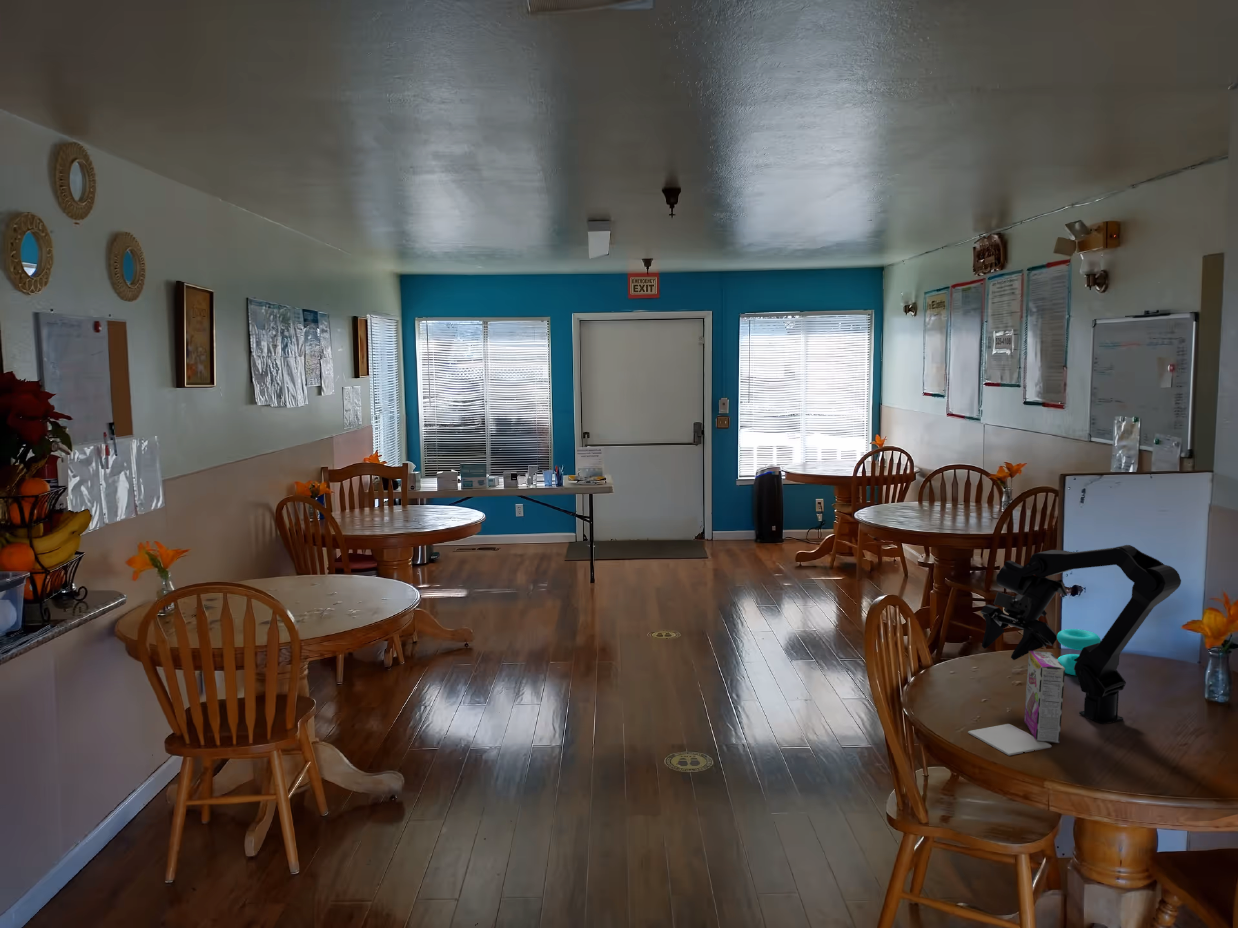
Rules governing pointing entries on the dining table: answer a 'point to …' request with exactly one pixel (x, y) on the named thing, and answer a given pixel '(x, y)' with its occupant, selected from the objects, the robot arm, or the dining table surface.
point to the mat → (1009, 739)
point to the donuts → (1075, 645)
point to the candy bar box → (1044, 696)
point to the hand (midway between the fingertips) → (997, 653)
